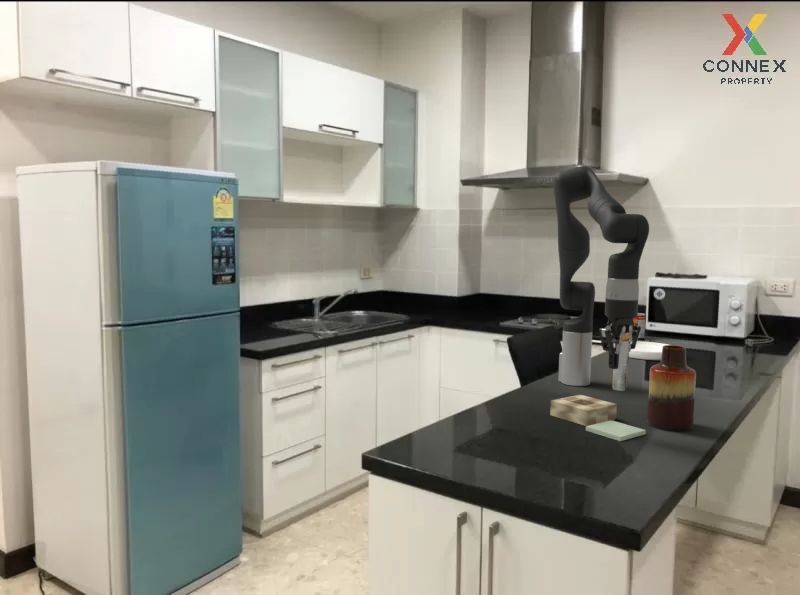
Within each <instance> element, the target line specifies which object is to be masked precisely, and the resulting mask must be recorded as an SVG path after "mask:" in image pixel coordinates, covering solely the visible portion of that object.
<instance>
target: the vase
mask: <svg viewBox="0 0 800 595" xmlns="http://www.w3.org/2000/svg"><path fill="white" fill-rule="evenodd" d="M696 380H697V372H696V370H695V369H694V368H691V367H690V366H688V365H687V348H686V347H685V346H681V345H672V344H668V345H665V346H663V348H662V356H661V360H660V363H657V364H654V365H652V366H651V367H650V369H649V382H648V383H649V384H648V386H649V387H648V400H647V402H648V403H647V418H646V420H647V421H646V422H647V423H646V424H648V426H650V427H652V428H655V429H658V430H661V431H662V430H663V431H668V432H677V433H678V432H688V431H691V430H693V427H694V416H695V415H694V413H695V401H696V400H695V397H696V396H695V395H696Z"/></svg>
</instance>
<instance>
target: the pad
mask: <svg viewBox="0 0 800 595" xmlns="http://www.w3.org/2000/svg"><path fill="white" fill-rule="evenodd" d="M585 431H586V432H590V433H593V434H595V435H600V436H603V437H605V438H609V439H612V440H616V441H618V442H623V441H626V440H630V439H633V438H636V437H642V436H644V435H646V429H643V428H641V427H635V426H633V425H628V424H625V423H622V422H619V421H615V420H609V421H605V422H601V423H597V424H593V425H589V426H585Z"/></svg>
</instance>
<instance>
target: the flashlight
mask: <svg viewBox="0 0 800 595" xmlns="http://www.w3.org/2000/svg"><path fill="white" fill-rule="evenodd" d="M629 336H630V333H628V332H625V333H623V340H622V341H623V342H622V344H621V345H620V349H619V353H618V354H619V363H618V369H612V386H611V387H612V388H611V389H612V390H614V391H619V392H620V391H621V392H624V391H627V382H628V367H627V365H628V366H629V358H628V346H629ZM614 340H615V341H617V340H618V339H614ZM614 348H615V346H614Z"/></svg>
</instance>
